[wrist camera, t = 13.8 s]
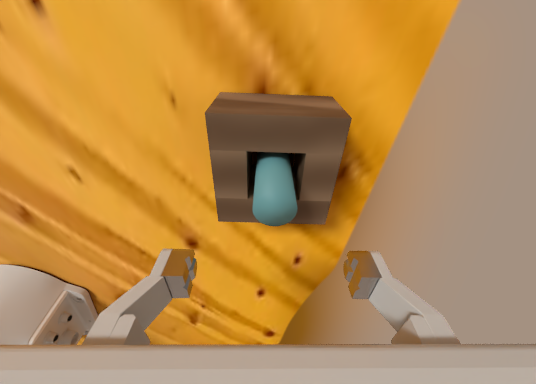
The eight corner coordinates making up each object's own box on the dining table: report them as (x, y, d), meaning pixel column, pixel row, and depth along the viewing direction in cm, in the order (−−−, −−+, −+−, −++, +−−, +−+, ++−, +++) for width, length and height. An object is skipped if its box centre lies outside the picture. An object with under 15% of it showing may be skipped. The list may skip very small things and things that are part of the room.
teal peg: (286, 159, 24) (295, 226, 16) (258, 159, 24) (253, 225, 16) (288, 132, 22) (299, 191, 14) (257, 132, 22) (251, 191, 14)
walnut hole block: (314, 187, 26) (325, 224, 21) (227, 185, 26) (218, 221, 21) (332, 96, 20) (351, 118, 16) (220, 92, 20) (204, 112, 15)
